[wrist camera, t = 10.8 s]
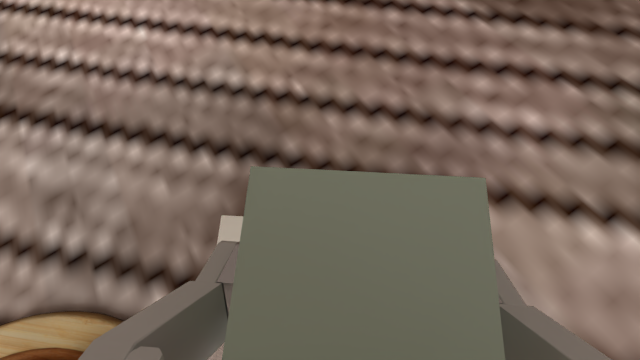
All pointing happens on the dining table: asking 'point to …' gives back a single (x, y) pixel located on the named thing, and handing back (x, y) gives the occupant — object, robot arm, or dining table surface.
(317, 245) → the sage-green pillar
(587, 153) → the dining table surface
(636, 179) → the dining table surface
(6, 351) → the wooden plate with food
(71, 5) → the dining table surface
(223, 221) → the cream block
